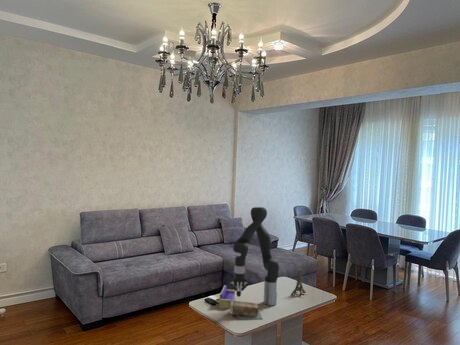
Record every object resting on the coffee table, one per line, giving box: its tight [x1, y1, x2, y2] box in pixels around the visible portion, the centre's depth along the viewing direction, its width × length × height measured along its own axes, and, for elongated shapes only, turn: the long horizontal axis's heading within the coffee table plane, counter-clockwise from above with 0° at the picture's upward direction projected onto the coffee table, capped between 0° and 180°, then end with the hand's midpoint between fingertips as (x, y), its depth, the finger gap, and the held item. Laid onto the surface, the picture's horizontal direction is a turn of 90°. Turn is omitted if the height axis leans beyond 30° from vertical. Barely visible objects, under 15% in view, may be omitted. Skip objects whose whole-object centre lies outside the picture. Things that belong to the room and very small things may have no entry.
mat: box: [235, 309, 263, 320], centre depth 240 cm, size 17×14×2 cm
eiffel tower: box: [291, 268, 307, 296], centre depth 284 cm, size 11×11×25 cm
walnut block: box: [230, 300, 259, 317], centre depth 240 cm, size 6×8×18 cm
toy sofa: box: [218, 284, 236, 310], centre depth 259 cm, size 21×9×10 cm, turn 170°
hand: (238, 296), depth 239 cm, fingers closed
